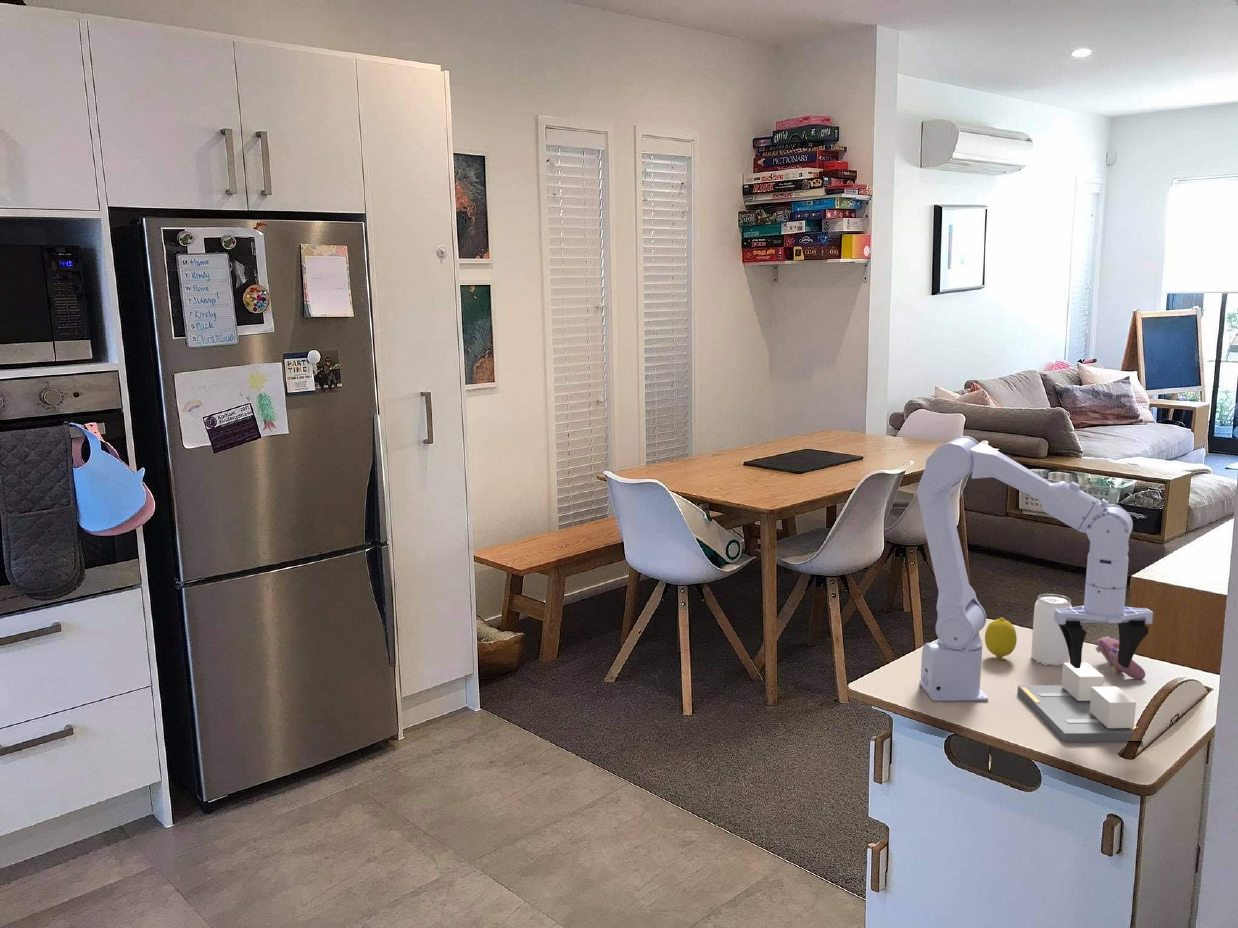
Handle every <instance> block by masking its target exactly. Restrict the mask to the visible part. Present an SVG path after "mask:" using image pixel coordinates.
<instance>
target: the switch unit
mask: <svg viewBox="0 0 1238 928" xmlns="http://www.w3.org/2000/svg"><path fill="white" fill-rule="evenodd" d="M1017 695H1018V696H1019V697H1020V698H1021V699H1022V700H1023V701H1024V702H1025V703H1026V704H1027V706H1028V707H1029V708H1030V709H1031V710H1032V711H1033V712H1034V713H1035V714H1036V715H1037V716H1038V717H1039V718H1040V719H1041V720H1042V721H1043V722H1044V723H1045V724H1046V726H1048V728H1050V729H1051V730H1052V732H1054V733H1055V735H1056V736H1057V737H1058V738H1060V740H1061V741H1062V742H1063V743H1129V742H1128V740H1129V739H1130V737H1131V735H1132V733H1133V729H1135V728H1136V727H1137V725H1135V724H1134V728H1107V727H1106V726H1105V725H1104V724H1103V723H1102V722H1100V721H1099V720H1098V719H1097V718H1096V717H1095V716H1094V715H1093V714H1092V713H1091V712H1090V711H1089V710H1090V701H1077V700H1076V699H1075V698H1074V697H1073V696H1072V695H1071V694H1070V693H1069V692H1068V691H1067V690H1065V689H1064V688H1063V687H1062V684H1059V685H1058V684H1053V685H1052V684H1050V685H1049V684H1048V685H1045V684H1044V685H1042V684H1041V685H1017Z"/></svg>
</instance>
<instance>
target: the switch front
mask: <svg viewBox="0 0 1238 928" xmlns="http://www.w3.org/2000/svg"><path fill="white" fill-rule="evenodd" d="M1136 707H1137V702H1136V701H1135V700H1134V699H1133V698H1131V697H1130V696H1129V695H1128V694H1126V693H1125V692H1124V691H1122V690H1121V689H1120V687H1118V686H1103V687H1091V698H1090V710H1089V711H1090V712H1091V713H1092V714H1093V715H1094V716H1095V717H1096V718H1097V719H1098V720H1099V721H1100V722H1102V723H1103V724H1104V725H1105V726H1106V727H1107V728H1134V725H1135V717H1136Z"/></svg>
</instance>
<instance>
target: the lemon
mask: <svg viewBox="0 0 1238 928" xmlns="http://www.w3.org/2000/svg"><path fill="white" fill-rule="evenodd" d="M1017 638H1018V637H1017V632H1016V628H1015V626H1014V624H1012V623H1011V622H1010V621H1008V620H1006V619H1005V618H1004V617H1000V618H996V619H994V620H992V621H991V622H989V623H988V625H987V626H986V630H985V633H984V643H985V647H986V648H987V650H988V652H990V653H991V654H992V655H993V656H995V657H996V658H997V659H1003V658H1004V657H1006V656H1009V655H1010V654H1012V653H1013V651H1014V650H1015V649H1016V645H1017V642H1018V641H1017V640H1018V639H1017Z"/></svg>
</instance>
